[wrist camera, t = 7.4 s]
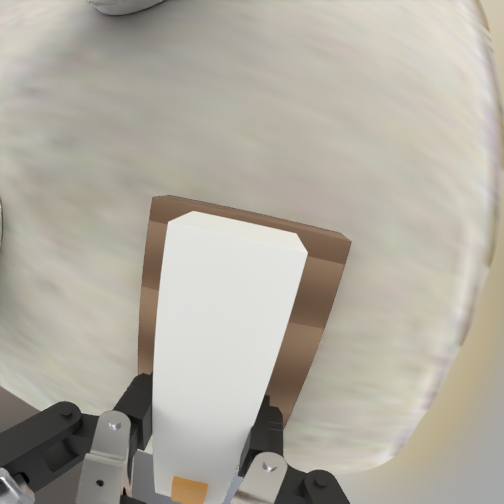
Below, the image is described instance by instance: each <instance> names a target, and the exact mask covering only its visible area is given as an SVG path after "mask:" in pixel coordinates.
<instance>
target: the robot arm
mask: <svg viewBox="0 0 504 504" xmlns="http://www.w3.org/2000/svg"><path fill="white" fill-rule="evenodd" d="M86 1H88V2H89V3H90V4H91V5H92V6H94V7H95V8H96V9H97V10H98V11H100V12H102V13H104V14H109V15H124V14H129V13H134V12H137V11H140V10H143V9H146V8H149V7H151V6H153V5H155V4H157V3H160V2H162V1H163V0H86ZM152 397H153V371H152V372H151V374H150V375H148V374H145V373H142V374H140V375H138V376H137V377H135V378H134V380H133V381H132V382H131V384H130V385H129V387H128V388H127V391H125V393H124V394H123V396H122V397H121V399H120V400H119V401H118V403H117V404H116V406H115V407H114V409H113V410H112V411H106V412H104V413H102V414H101V415H100V416H94V415H88V414H83V413H81V411H80V409H79V408H78V406H76V405H75V404H73V403H71V402H66V401H63V402H58V403H56V404H54V405H53V406H51V407H49V408H47V409H45V410H43V411H42V412H40V413H38V414H36V415H34V416H33V417H30V418H29V419H27V420H25V421H23V422H21V423H19V424H17V425H15V426H14V427H11V428H9V429H8V430H6V431H4V432H2V433H0V504H34V501H35V496H34V493H35V492H36V491H38V490H39V489H41V488H42V487H44V486H46V485H47V484H49V483H50V482H52V481H53V480H55V479H56V478H58V477H59V476H61V475H62V474H63V473H65V472H66V471H68V470H69V469H71V468H72V467H73V466H75V465H76V464H78V463H79V462H81V461H82V460H84V462H83V467H82V471H81V476H80V481H79V486H78V492H77V497H76V503H75V504H146V503H145V502H141V501H139V500H136V499H134V498H132V477H133V465H134V455H135V453H136V451H137V449H140V450H143V451H144V450H145V448H146V446H147V444H148V441H149V439H150V437H151V435H152ZM238 476H240V477H243V481H242V483H241V485H240V487H239V489H238V490H237V492H236V493H235V495H234V497H233V498H232V500H231V502H230V504H350V502H349V501H348V499H347V497H346V496H345V494H344V492H343V490H342V489H341V487H340V485H339V483H338V482H337V480H336V479H335V477H334V476H333V475H332V474H331V473H329V472H327V471H324V470H313V471H311V472H309V473H305V472H302V471H299V470H296V469H294V468H292V467H291V466H289V465H288V464H287V462H286V461H285V459H284V456H283V415H282V413H281V411H280V409H279V407H274V406H270V395H266V394H265V395H264V397H263V400H262V403H261V406H260V409H259V412H258V414H257V417H256V420H255V423H254V425H253V426H251V429H250V432H249V434H248V437H247V440H246V443H245V445H244V448H243V451H242V453H241V457H240V464H239V471H238Z"/></svg>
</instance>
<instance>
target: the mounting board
mask: <svg viewBox="0 0 504 504" xmlns="http://www.w3.org/2000/svg"><path fill="white" fill-rule="evenodd" d="M192 211H196V212H201V213H206V214H211V215H215V216H220V217H225V218H229V219H234V220H239V221H243V222H248V223H252V224H257V225H261V226H266V227H270V228H275V229H279V230H283V231H288V232H292V233H296V234H297V235H298V237H299V239H300V240H301V242H302V244H303V245H304V247H305V249H306V250H307V252H308V254H307V258H306V261H305V265H304V269H303V272H302V276H301V279H300V283H299V286H298V290H297V293H296V297H295V300H294V304H293V307H292V311H291V314H290V317H289V321H288V324H287V327H286V330H285V334H284V337H283V340H282V343H281V346H280V349H279V353H278V356H277V359H276V362H275V365H274V368H273V371H272V374H271V377H270V380H269V383H268V386H267V389H266V392H265V394H266V395H270V406H274V407H279V409H280V411H281V413H282V415H283V430H284V428H285V425H286V423H287V421H288V419H289V417H290V414H291V412H292V410H293V408H294V405H295V403H296V401H297V398H298V396H299V393H300V391H301V389H302V386H303V384H304V381H305V379H306V376H307V374H308V371H309V369H310V366H311V364H312V361H313V358H314V356H315V353H316V351H317V348H318V345H319V342H320V340H321V337H322V334H323V331H324V328H325V326H326V323H327V320H328V317H329V314H330V311H331V308H332V305H333V302H334V299H335V296H336V293H337V289H338V286H339V283H340V280H341V276H342V273H343V270H344V266H345V263H346V260H347V256H348V253H349V249H350V245H351V242H352V241H350V240H349V239H348V238H346V237H345V236H344V235H342V234H341V233H338V232H334V231H330V230H326V229H322V228H318V227H314V226H309V225H305V224H301V223H297V222H293V221H288V220H284V219H280V218H275V217H271V216H267V215H262V214H258V213H253V212H249V211H244V210H240V209H235V208H230V207H226V206H221V205H216V204H211V203H206V202H201V201H196V200H191V199H186V198H181V197H176V196H171V195H167V196H158V197H153V198H152V204H151V210H150V217H149V224H148V231H147V239H146V247H145V255H144V265H143V275H142V286H141V299H140V314H139V335H138V375H140V374H142V373H145V374H148V375H150V374H151V372H152V371H153V365H154V346H155V331H156V319H157V307H158V297H159V287H160V278H161V270H162V262H163V254H164V247H165V240H166V233H167V226H168V222H169V221H171V220H174V219H176V218H178V217H180V216H183V215H185V214H187V213H189V212H192Z"/></svg>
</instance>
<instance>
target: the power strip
mask: <svg viewBox="0 0 504 504" xmlns="http://www.w3.org/2000/svg"><path fill="white" fill-rule="evenodd" d="M307 254H308V252H307V250H306V249H305V247H304V245H303V244H302V242H301V240H300V239H299V237H298V235H297V234H296V233H292V232H288V231H283V230H279V229H275V228H270V227H266V226H261V225H257V224H252V223H248V222H243V221H239V220H234V219H229V218H225V217H220V216H215V215H211V214H206V213H201V212H196V211H192V212H189V213H187V214H185V215H183V216H180V217H178V218H176V219H174V220H171V221H169V222H168V226H167V233H166V240H165V247H164V254H163V262H162V270H161V278H160V287H159V297H158V307H157V319H156V331H155V346H154V365H153V397H152V436H153V465H154V483H155V492H156V493H159V494H162V495H166V496H170V497H171V500H172V501H176V502H180V503H184V504H223V501H224V499H225V497H226V494H227V492H228V489H229V487H230V485H231V482H232V480H233V477H234V475H235V472H236V470H237V467H238V465H239V462H240V457H241V453H242V451H243V448H244V445H245V443H246V440H247V437H248V434H249V432H250V429H251V426H253V425H254V423H255V420H256V417H257V414H258V412H259V409H260V406H261V403H262V400H263V397H264V395H265V392H266V389H267V386H268V383H269V380H270V377H271V374H272V371H273V368H274V365H275V362H276V359H277V356H278V353H279V349H280V346H281V343H282V340H283V337H284V334H285V330H286V327H287V324H288V321H289V317H290V314H291V311H292V307H293V304H294V300H295V297H296V293H297V290H298V286H299V283H300V279H301V276H302V272H303V269H304V265H305V261H306V258H307Z"/></svg>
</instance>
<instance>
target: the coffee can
mask: <svg viewBox="0 0 504 504" xmlns="http://www.w3.org/2000/svg"><path fill="white" fill-rule="evenodd" d="M1 240H2V210H1V203H0V247H1Z"/></svg>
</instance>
